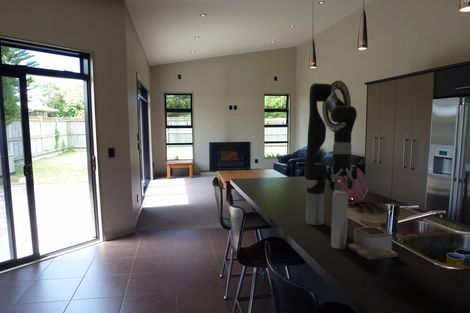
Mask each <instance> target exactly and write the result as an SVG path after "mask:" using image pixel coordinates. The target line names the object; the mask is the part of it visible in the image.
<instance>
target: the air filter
mask: <svg viewBox="0 0 470 313" xmlns="http://www.w3.org/2000/svg"><path fill="white" fill-rule="evenodd" d="M333 191H334V192H333V193H332V197H333V200H332V206H331V208H332V209H331V232H330V233H331V234H330V235H331V237H330V246H331V248H333V249H336V250H346V248H347V236H348V235H347V234H348V233H347V231H348V216H349V214H348V210H349V205H348V203H349V199H348V192H346V191H344V190H333Z"/></svg>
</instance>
